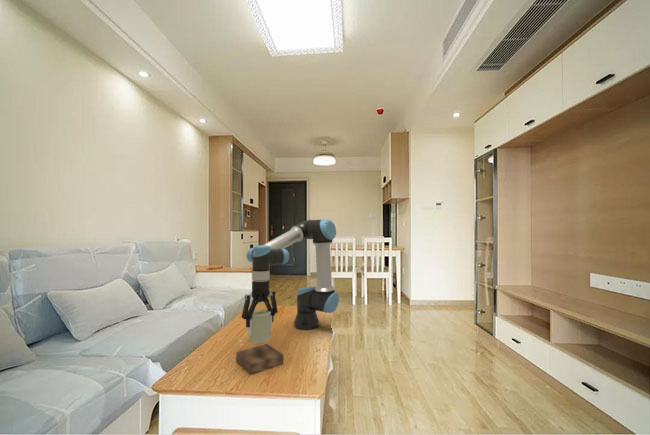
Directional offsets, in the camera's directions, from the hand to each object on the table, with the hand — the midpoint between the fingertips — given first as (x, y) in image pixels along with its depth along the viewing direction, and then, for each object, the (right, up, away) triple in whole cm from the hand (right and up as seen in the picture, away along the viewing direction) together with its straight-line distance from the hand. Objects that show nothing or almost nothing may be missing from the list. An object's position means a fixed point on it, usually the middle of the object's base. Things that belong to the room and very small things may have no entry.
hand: (259, 332), depth 122 cm
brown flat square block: (0, -13, -1) cm, 13 cm away
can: (0, -3, 0) cm, 3 cm away
